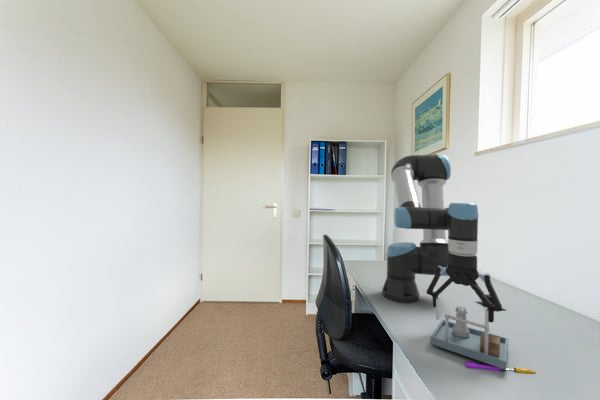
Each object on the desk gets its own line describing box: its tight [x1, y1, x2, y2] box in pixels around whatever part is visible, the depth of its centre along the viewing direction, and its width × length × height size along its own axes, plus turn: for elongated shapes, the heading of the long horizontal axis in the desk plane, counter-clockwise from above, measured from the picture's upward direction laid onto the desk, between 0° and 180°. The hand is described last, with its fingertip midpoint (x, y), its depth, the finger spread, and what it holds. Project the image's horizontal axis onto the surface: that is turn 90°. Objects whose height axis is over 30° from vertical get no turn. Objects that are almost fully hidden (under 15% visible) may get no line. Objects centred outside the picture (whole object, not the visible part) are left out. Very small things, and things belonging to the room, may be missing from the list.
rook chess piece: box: [453, 306, 470, 338], centre depth 77 cm, size 4×4×8 cm
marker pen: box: [464, 361, 537, 374], centre depth 65 cm, size 3×1×16 cm
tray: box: [430, 313, 509, 371], centre depth 73 cm, size 14×17×10 cm
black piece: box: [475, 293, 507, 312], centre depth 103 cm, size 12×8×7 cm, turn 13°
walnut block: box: [480, 333, 500, 358], centre depth 68 cm, size 4×4×4 cm
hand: (461, 324), depth 77 cm, fingers open, 12 cm apart
